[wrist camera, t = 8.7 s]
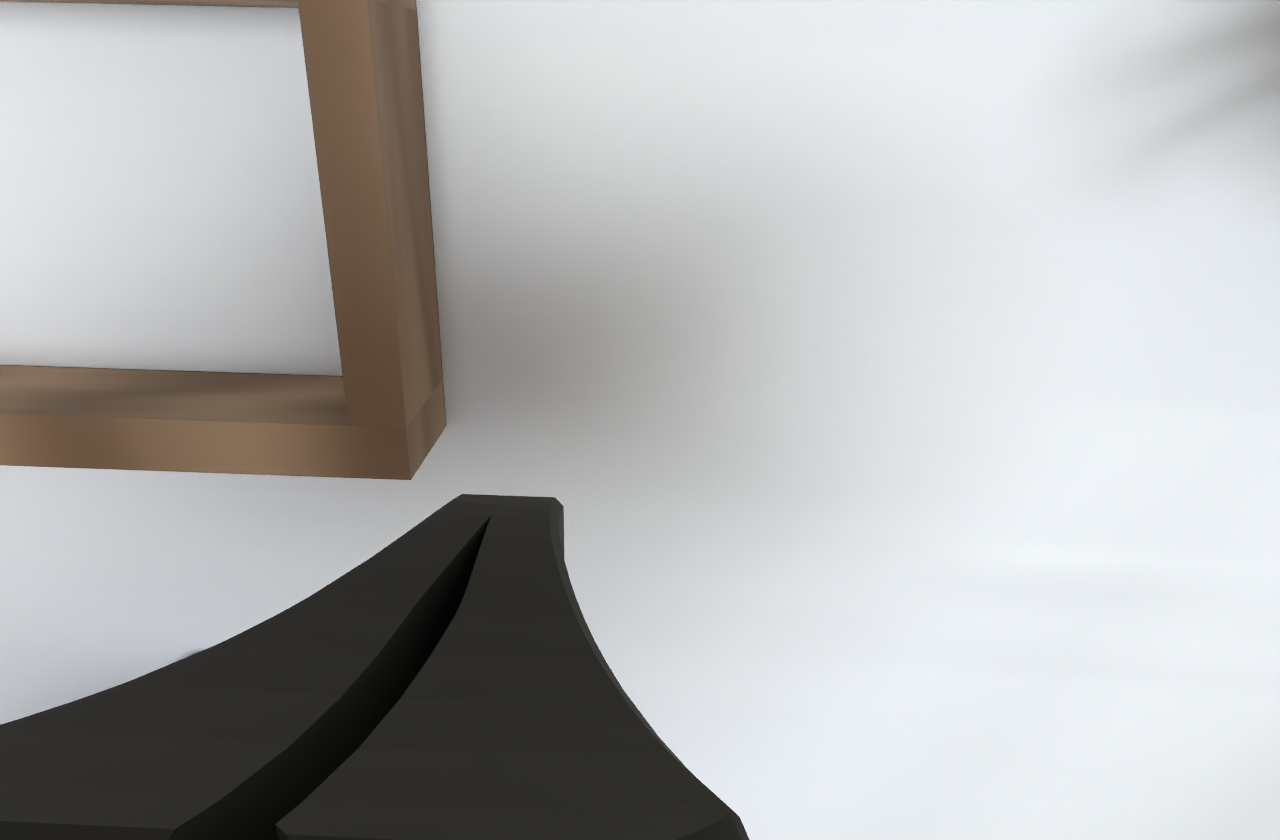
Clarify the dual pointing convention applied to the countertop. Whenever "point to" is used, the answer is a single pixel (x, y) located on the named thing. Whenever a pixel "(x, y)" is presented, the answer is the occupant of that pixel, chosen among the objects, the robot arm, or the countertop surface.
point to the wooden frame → (362, 290)
